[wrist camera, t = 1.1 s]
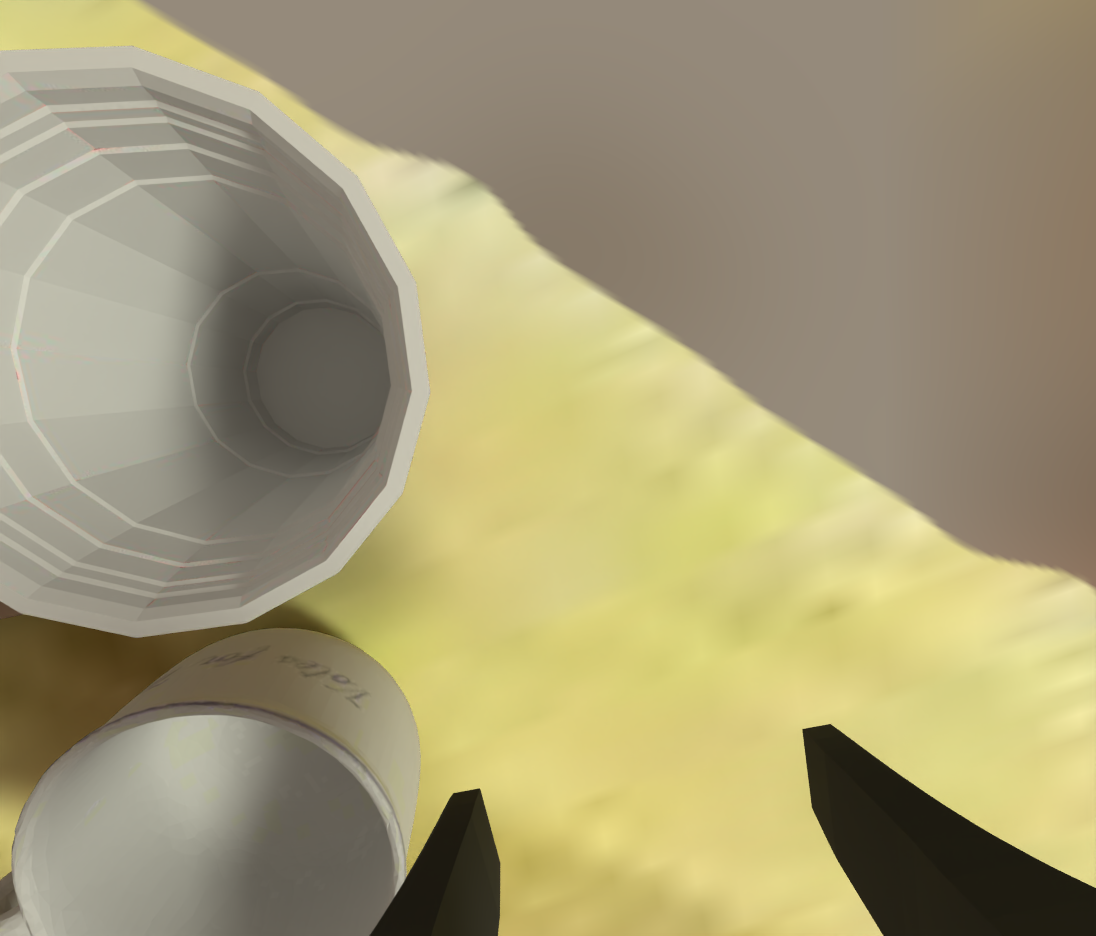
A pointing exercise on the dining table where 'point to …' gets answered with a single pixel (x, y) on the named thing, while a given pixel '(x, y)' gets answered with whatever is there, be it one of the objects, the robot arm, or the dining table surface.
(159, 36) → the dining table surface
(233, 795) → the teacup
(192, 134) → the plastic cup
